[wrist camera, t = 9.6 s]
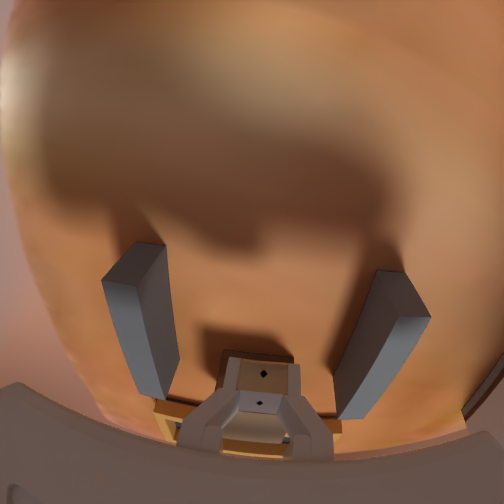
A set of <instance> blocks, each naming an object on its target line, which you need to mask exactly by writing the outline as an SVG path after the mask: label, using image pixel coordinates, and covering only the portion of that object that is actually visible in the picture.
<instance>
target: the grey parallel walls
mask: <svg viewBox="0 0 504 504" xmlns="http://www.w3.org/2000/svg"><path fill="white" fill-rule="evenodd" d="M101 281H102V285H103V289H104V293H105V297H106V300H107V304H108V308H109V311H110V314H111V318H112V321H113V324H114V327H115V330H116V333H117V336H118V339H119V342H120V345H121V348H122V351H123V354H124V356H125V359H126V362H127V364H128V367H129V370H130V372H131V375H132V377H133V380H134V382H135V385H136V387H137V389H138V392H139V394H142V395H145V396H149V397H153V398H157V399H161V400H166V397H167V394H168V392H169V389H170V386H171V383H172V380H173V377H174V374H175V372H176V369H177V366H178V363H179V360H180V358H179V352H178V345H177V339H176V332H175V325H174V317H173V309H172V301H171V292H170V283H169V273H168V262H167V250H166V246H163V245H155V244H147V243H138V242H135V243H134V244H133V245H132V246H131V247H130V248H129V250H128V251H127V252H126V253H125V254H124V255H123V256H122V257H121V258H120V259H119V260H118V262H117V263H116V264H115V265H114V266H113V267H112V268H111V269H110V270H109V272H108V273H107V274H106V275H105V276H104V277H103V278H102V280H101ZM430 319H431V315H430V314H429V312H428V310H427V308H426V306H425V305H424V303H423V301H422V299H421V298H420V296H419V294H418V293H417V291H416V289H415V288H414V286H413V284H412V283H411V281H410V279H409V278H408V276H407V275H406V273H399V272H390V271H381V270H377V271H376V274H375V277H374V280H373V283H372V285H371V288H370V291H369V294H368V296H367V299H366V302H365V304H364V307H363V309H362V312H361V314H360V317H359V319H358V322H357V324H356V327H355V329H354V331H353V334H352V336H351V338H350V341H349V343H348V345H347V348H346V350H345V352H344V354H343V356H342V359H341V361H340V363H339V365H338V367H337V369H336V371H335V373H334V375H333V383H334V392H335V401H336V411H337V420H349V419H363V418H364V417H365V416H366V415H367V413H368V412H369V411H370V410H371V409H372V407H373V406H374V405H375V403H376V402H377V401H378V400H379V398H380V397H381V396H382V394H383V393H384V392H385V390H386V389H387V387H388V386H389V385H390V383H391V382H392V380H393V379H394V378H395V376H396V375H397V373H398V372H399V370H400V369H401V367H402V366H403V364H404V363H405V361H406V360H407V358H408V357H409V355H410V353H411V352H412V350H413V349H414V347H415V345H416V344H417V342H418V340H419V339H420V337H421V335H422V333H423V332H424V330H425V328H426V326H427V325H428V323H429V321H430Z"/></svg>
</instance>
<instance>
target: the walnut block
mask: <svg viewBox="0 0 504 504" xmlns="http://www.w3.org/2000/svg"><path fill="white" fill-rule="evenodd" d="M229 357H235V358H241V359H249V360H256V361H269V362H281V363H291V364H294V357H286V356H275V355H265V354H256V353H247V352H239V351H232V350H225V349H224V351H223V356H222V360H221V365H220V369H219V374H218V378H217V383H216V387H215V391H216V390H217V389H218V388H223V384H224V379H225V374H226V369H227V364H228V360H229ZM215 391H214V392H215ZM222 430H223V438H226V439H233V440H241V441H250V442H261V443H274V444H281V443H282V441H283V439H284V437H285V434H286V431H285V429H284V427H283V425H282V424H281V422H280V420H279V418H278V417H277V414H268V413H259V412H248V411H238V412H237V413H236V415H235V416H234V417H233V418H232V419H231V420H230V421H229V422H228V423H227V424H226V425H225V426H224V428H223V429H222Z"/></svg>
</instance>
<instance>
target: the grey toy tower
mask: <svg viewBox="0 0 504 504" xmlns="http://www.w3.org/2000/svg"><path fill="white" fill-rule="evenodd" d="M461 411H462V414H463V417H464V420H465V423H466V426H467V429H468V432H469V435H471V434H474V433H477V432H480V431H488V432H489V433H490V434H492V435H493V436H494V437H495V438H496V439H497V440H498V441H499V442H500V443H501V444H502V446H503V448H504V353H503V355H502V356H501V358H500V360H499V361H498V363H497V364H496V366H495V367H494V369H493V370H492V371H491V373H490V374H489V376H488V377H487V378H486V380H485V381H484V383H483V384H482V385H481V387H480V388H479V389H478V390H477V392H476V393H475V394H474V396H473V397H472V398H471V399H470V401H469V402H468V403H467V404H466V405H465V407H464V408H463V409H462V410H461Z"/></svg>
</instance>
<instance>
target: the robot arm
mask: <svg viewBox="0 0 504 504" xmlns="http://www.w3.org/2000/svg"><path fill="white" fill-rule="evenodd" d="M238 411H248V412H259V413H268V414H277V417H278V418H279V420H280V422H281V424H282V425H283V427H284V429H285V431H286V432H287V434H288V436H289V437H290V439H291V442H290V444H289V445H288V447H287V448H286V450H285V452H284V453H283V460H282V461H276V460H261V459H251V458H241V457H233V456H226V455H222V453H223V430H222V429H223V428H224V426H225V425H226V424H227V423H228V422H229V421H230V420H231V419H232V418H233V417H234V416H235V415H236V413H237V412H238ZM0 504H504V448H503V446H502V444H501V443H500V442H499V441H498V440H497V439H496V438H495V437H494V436H493V435H492V434H490V433H489V432H488V431H480V432H477V433H474V434H471V435H468V436H465V437H462V438H459V439H456V440H453V441H449V442H446V443H443V444H439V445H435V446H431V447H427V448H422V449H418V450H413V451H408V452H403V453H398V454H392V455H386V456H378V457H370V458H361V459H351V460H336V461H334V445H333V434H332V432H331V431H330V430H329V428H328V427H327V426H326V424H325V423H324V422H323V421H322V419H321V418H320V417H319V415H318V414H317V413H316V411H315V410H314V409H313V407H312V406H311V405H310V403H309V402H308V401H307V399H306V398H305V397H304V396H301V382H300V365H299V364H291V363H281V362H269V361H256V360H249V359H241V358H235V357H229V360H228V364H227V369H226V374H225V379H224V384H223V388H218V389H217V390H216V391H215V392H214V393H213V394H212V395H211V396H209V397H208V398H207V399H206V400H205V401H204V402H203V403H201V404H200V405H199V406H198V407H197V408H196V409H194V410H193V411H192V412H191V413H190V414H189V415H187V416H186V417H185V418H184V419H183V421H182V424H181V428H180V432H179V435H178V439H177V442H176V446H174V445H170V444H166V443H162V442H159V441H155V440H152V439H148V438H145V437H141V436H138V435H135V434H132V433H129V432H126V431H123V430H120V429H118V428H115V427H112V426H109V425H107V424H104V423H102V422H99V421H96V420H94V419H92V418H89V417H87V416H85V415H82V414H80V413H78V412H76V411H74V410H71V409H69V408H67V407H65V406H63V405H61V404H59V403H57V402H55V401H53V400H51V399H49V398H47V397H46V396H44V395H42V394H40V393H38V392H36V391H35V390H33V389H31V388H30V387H28V386H27V385H25V384H23V383H21V382H15V383H12V384H9V385H7V386H5V387H3V388H0Z"/></svg>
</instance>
